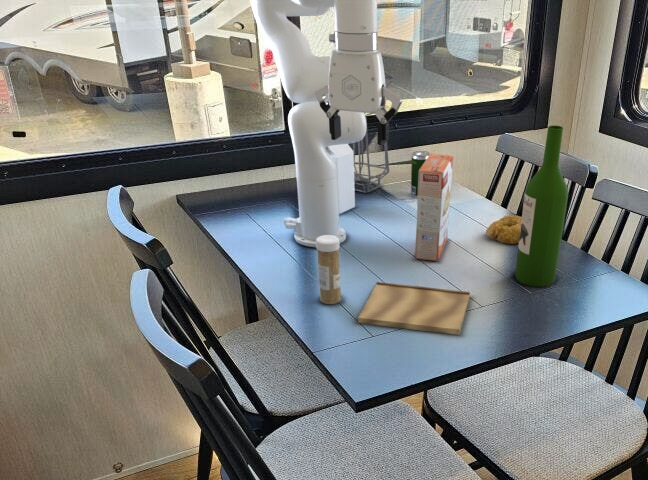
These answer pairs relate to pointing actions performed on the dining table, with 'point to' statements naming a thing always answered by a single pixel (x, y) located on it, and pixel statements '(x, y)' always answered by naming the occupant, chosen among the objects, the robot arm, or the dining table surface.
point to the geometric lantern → (368, 154)
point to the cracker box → (433, 206)
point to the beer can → (417, 169)
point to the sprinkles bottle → (329, 269)
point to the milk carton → (344, 175)
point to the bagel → (505, 229)
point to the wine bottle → (543, 218)
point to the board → (415, 308)
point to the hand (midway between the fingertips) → (359, 141)
